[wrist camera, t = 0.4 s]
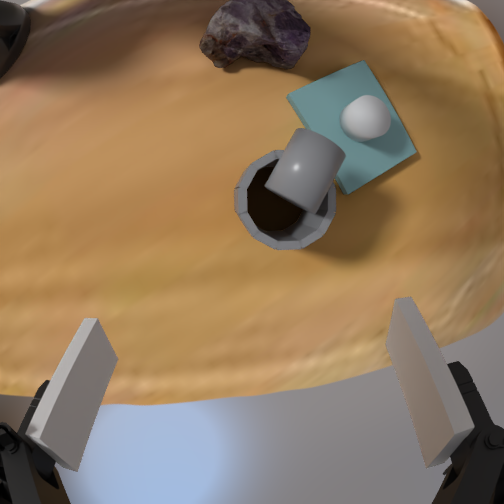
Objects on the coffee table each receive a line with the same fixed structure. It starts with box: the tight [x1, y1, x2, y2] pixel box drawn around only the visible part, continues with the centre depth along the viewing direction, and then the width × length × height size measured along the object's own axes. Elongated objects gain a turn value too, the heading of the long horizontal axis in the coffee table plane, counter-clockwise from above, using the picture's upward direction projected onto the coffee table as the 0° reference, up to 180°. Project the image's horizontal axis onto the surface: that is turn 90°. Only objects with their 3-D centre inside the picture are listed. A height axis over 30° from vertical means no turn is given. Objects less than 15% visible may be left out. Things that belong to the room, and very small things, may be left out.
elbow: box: [234, 128, 346, 250], centre depth 32 cm, size 11×9×12 cm
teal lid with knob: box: [286, 60, 416, 194], centre depth 35 cm, size 14×12×6 cm
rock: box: [199, 0, 310, 69], centre depth 31 cm, size 12×9×10 cm
